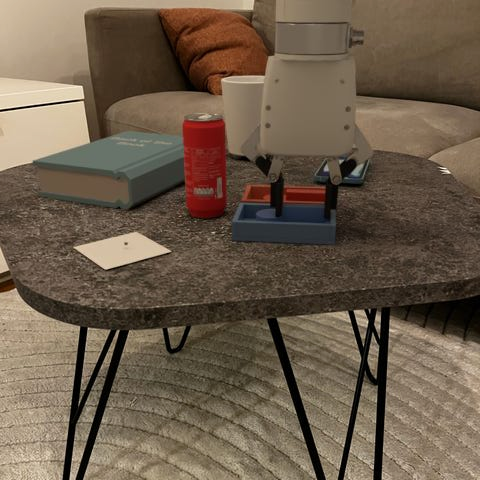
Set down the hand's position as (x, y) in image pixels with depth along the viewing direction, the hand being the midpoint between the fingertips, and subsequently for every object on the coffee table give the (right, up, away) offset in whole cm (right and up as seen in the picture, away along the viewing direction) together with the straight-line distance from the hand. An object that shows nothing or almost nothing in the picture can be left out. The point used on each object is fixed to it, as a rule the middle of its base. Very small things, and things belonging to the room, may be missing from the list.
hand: (302, 212), depth 69 cm
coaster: (-20, -5, -3) cm, 21 cm away
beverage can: (-12, +1, +8) cm, 14 cm away
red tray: (-1, +2, +8) cm, 9 cm away
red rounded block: (0, +2, +8) cm, 8 cm away
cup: (-6, +16, +36) cm, 40 cm away
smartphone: (+9, +11, +25) cm, 29 cm away
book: (-24, +8, +21) cm, 33 cm away
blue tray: (-2, -2, +1) cm, 3 cm away
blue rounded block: (-1, -1, +1) cm, 2 cm away
